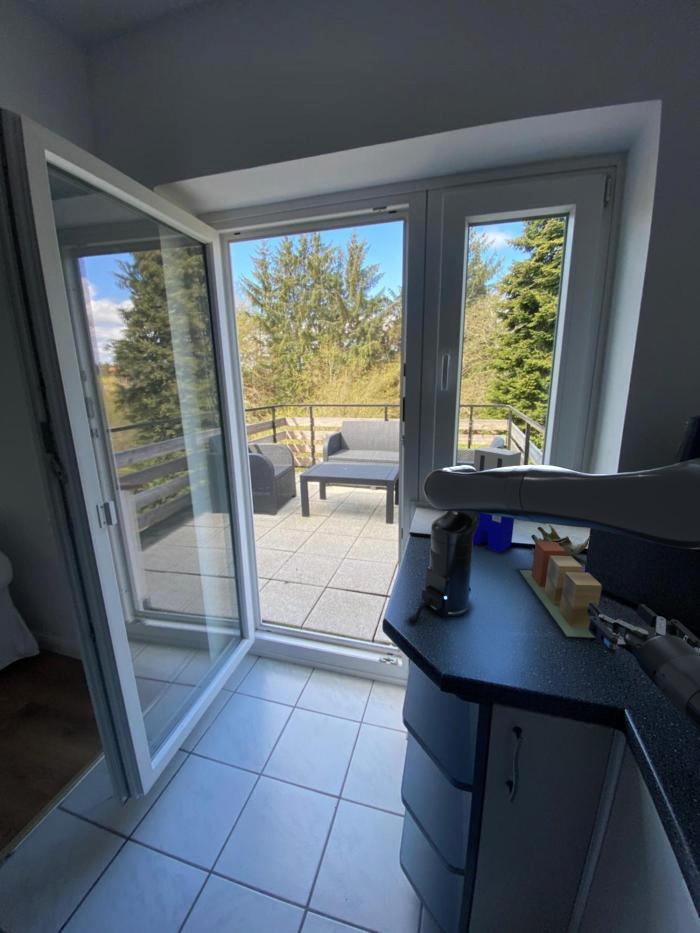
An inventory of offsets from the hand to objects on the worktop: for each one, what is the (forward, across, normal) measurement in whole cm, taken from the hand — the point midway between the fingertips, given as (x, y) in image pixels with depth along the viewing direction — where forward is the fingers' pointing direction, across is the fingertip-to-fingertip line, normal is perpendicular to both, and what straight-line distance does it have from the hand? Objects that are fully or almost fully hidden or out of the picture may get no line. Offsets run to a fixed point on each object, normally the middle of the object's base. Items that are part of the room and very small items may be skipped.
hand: (614, 607), depth 68 cm
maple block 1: (+18, 0, +11) cm, 21 cm away
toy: (+48, +8, +11) cm, 50 cm away
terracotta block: (+26, 0, +11) cm, 28 cm away
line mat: (+18, 0, +11) cm, 21 cm away
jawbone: (+42, -11, +11) cm, 45 cm away
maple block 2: (+11, 0, +11) cm, 15 cm away
